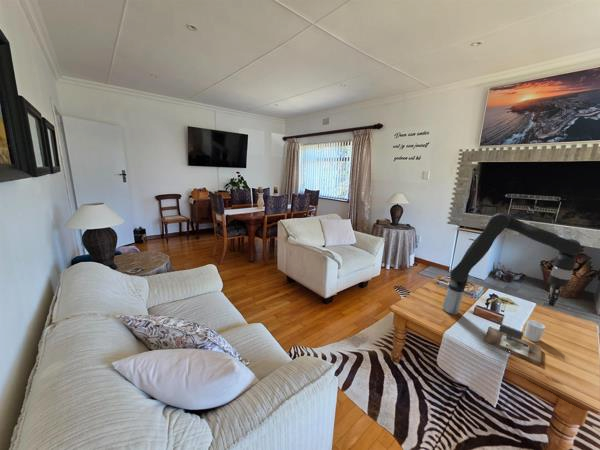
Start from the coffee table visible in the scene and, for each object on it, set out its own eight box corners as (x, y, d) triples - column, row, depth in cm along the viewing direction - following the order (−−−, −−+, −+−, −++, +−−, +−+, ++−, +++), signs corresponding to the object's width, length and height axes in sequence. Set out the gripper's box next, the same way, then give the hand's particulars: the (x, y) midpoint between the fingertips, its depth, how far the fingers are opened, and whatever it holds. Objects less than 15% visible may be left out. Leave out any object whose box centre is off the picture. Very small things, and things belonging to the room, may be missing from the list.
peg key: (497, 335, 145) (500, 325, 143) (498, 333, 147) (500, 323, 145) (527, 347, 136) (531, 337, 134) (528, 345, 138) (531, 335, 136)
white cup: (534, 343, 143) (539, 329, 140) (519, 334, 150) (524, 320, 148) (543, 341, 145) (548, 327, 143) (528, 332, 152) (533, 318, 150)
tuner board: (483, 341, 143) (484, 338, 143) (488, 328, 154) (489, 325, 154) (539, 365, 127) (540, 362, 126) (540, 350, 138) (541, 346, 138)
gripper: (550, 269, 138) (541, 295, 142) (550, 277, 128) (541, 304, 132) (569, 274, 133) (559, 300, 137) (571, 282, 123) (561, 310, 127)
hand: (550, 302), depth 135 cm, fingers open, 8 cm apart
